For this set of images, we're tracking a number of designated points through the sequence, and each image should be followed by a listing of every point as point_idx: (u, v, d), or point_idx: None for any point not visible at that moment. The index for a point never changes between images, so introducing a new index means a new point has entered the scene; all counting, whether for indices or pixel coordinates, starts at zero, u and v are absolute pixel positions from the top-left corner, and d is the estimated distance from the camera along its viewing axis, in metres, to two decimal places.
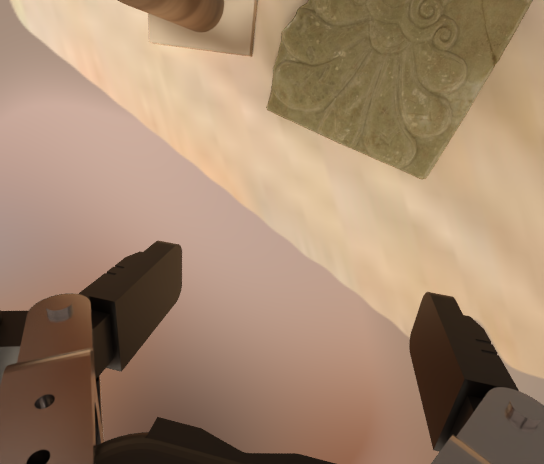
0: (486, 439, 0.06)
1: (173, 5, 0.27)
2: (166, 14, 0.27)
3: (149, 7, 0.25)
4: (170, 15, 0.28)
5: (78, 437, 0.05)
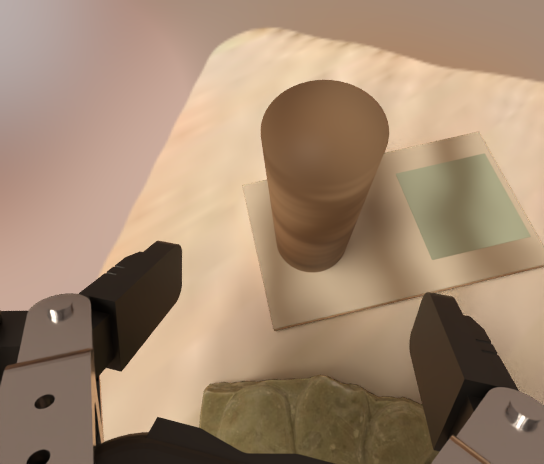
0: (486, 439, 0.06)
1: (291, 209, 0.16)
2: (275, 201, 0.17)
3: (271, 172, 0.14)
4: (276, 207, 0.17)
5: (78, 437, 0.05)
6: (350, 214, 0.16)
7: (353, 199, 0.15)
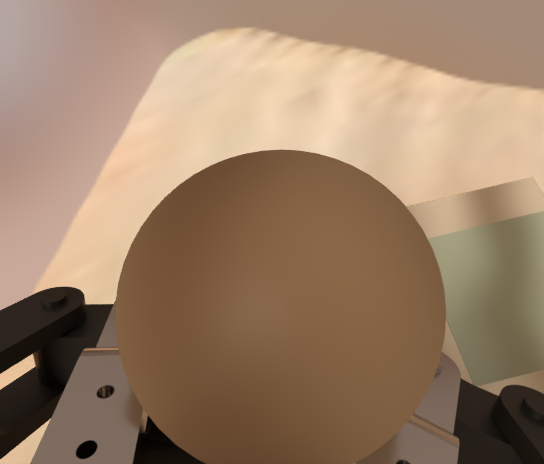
0: None
1: None
2: None
3: None
4: None
5: (124, 437, 0.05)
6: None
7: None
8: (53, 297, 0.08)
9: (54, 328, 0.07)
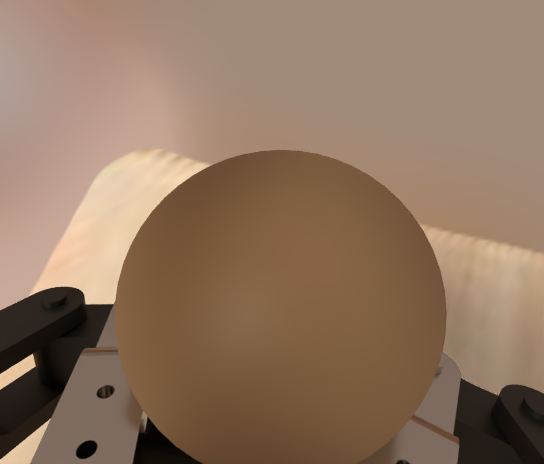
0: None
1: None
2: None
3: None
4: None
5: (124, 437, 0.05)
6: None
7: None
8: (53, 297, 0.08)
9: (54, 328, 0.07)
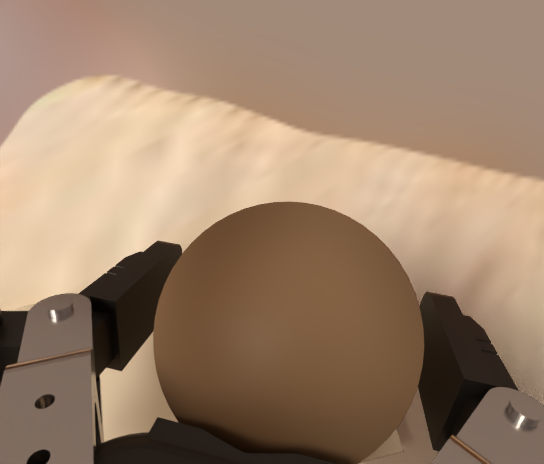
0: (486, 439, 0.06)
1: None
2: None
3: None
4: None
5: (78, 437, 0.05)
6: None
7: None
8: None
9: None
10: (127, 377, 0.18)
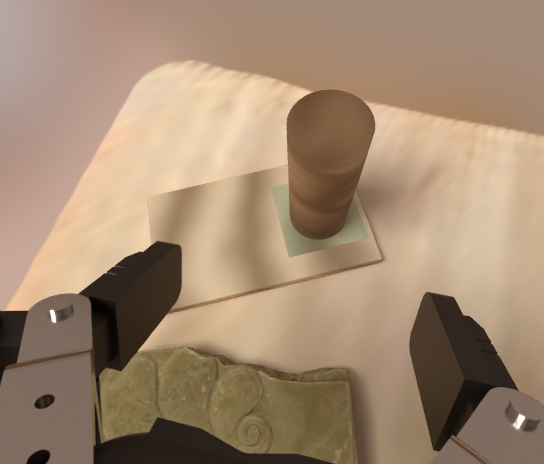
0: (486, 439, 0.06)
1: (306, 181, 0.22)
2: (294, 177, 0.23)
3: (293, 154, 0.21)
4: (294, 182, 0.23)
5: (78, 437, 0.05)
6: (348, 186, 0.22)
7: (350, 174, 0.21)
8: None
9: None
10: (225, 228, 0.31)
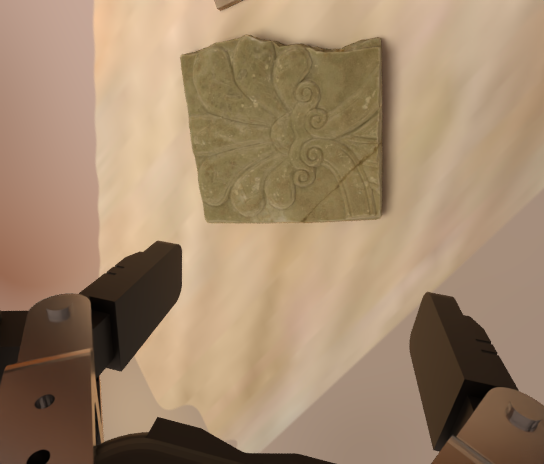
0: (486, 439, 0.06)
1: None
2: None
3: None
4: None
5: (78, 437, 0.05)
6: None
7: None
8: None
9: None
10: None
